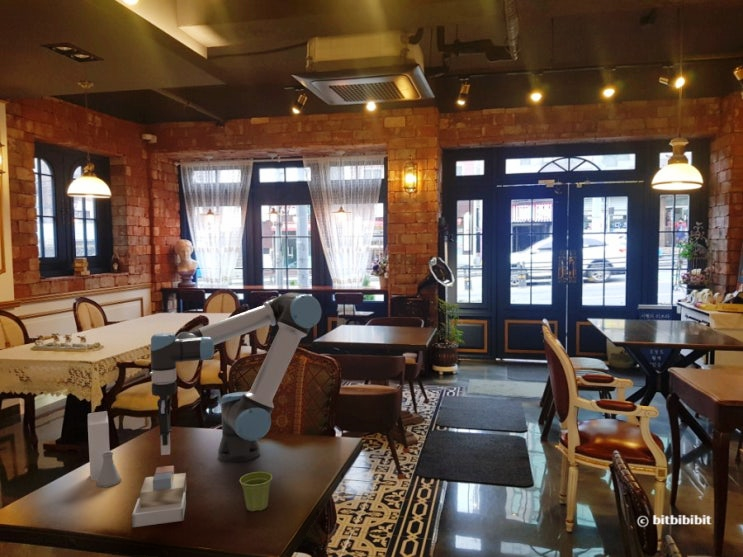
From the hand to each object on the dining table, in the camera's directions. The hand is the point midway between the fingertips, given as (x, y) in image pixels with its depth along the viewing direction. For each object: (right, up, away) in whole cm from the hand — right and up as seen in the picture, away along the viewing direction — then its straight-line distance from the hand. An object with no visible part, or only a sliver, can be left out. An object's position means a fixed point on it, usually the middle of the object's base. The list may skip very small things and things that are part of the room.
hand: (165, 453), depth 180 cm
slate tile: (+4, -6, -13) cm, 14 cm away
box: (+6, -11, -21) cm, 24 cm away
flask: (-20, -11, +3) cm, 22 cm away
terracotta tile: (+2, -5, -7) cm, 9 cm away
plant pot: (+33, -11, -17) cm, 38 cm away
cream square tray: (+3, -11, -10) cm, 15 cm away
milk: (-25, -10, +8) cm, 29 cm away
